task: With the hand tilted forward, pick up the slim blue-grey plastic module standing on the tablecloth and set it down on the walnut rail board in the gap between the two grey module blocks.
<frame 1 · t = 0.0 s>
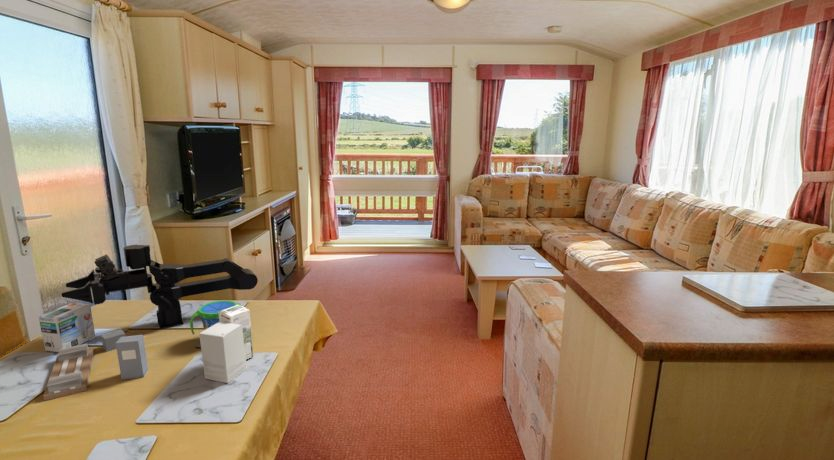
hand: (63, 290, 127), 17 cm above the table, tool horizontal, fingers open, 9 cm apart
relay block: (115, 346, 129), on the table
rail board: (71, 374, 114), on the table
module: (135, 374, 114), on the table
light bulb box: (71, 344, 131), on the table
supplement box: (226, 374, 114), on the table
syrup box: (238, 359, 121), on the table
snack cup: (221, 338, 133), on the table
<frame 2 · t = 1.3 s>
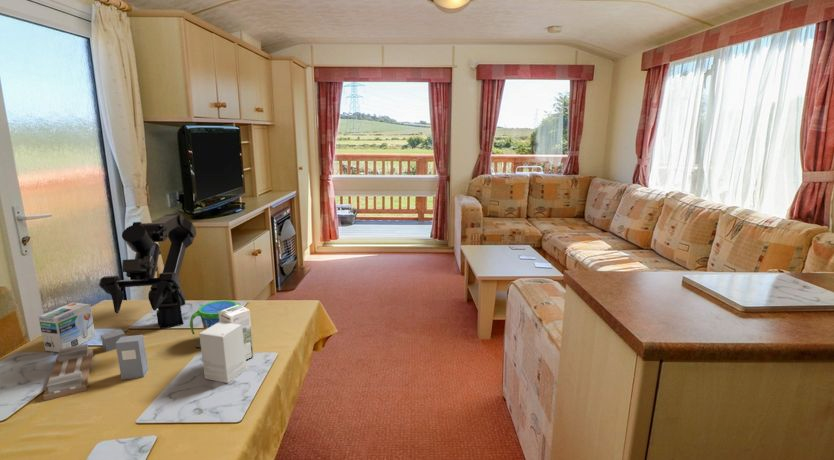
hand: (135, 311, 119), 14 cm above the table, tool tilted 45°, fingers open, 9 cm apart
nothing on the table moved.
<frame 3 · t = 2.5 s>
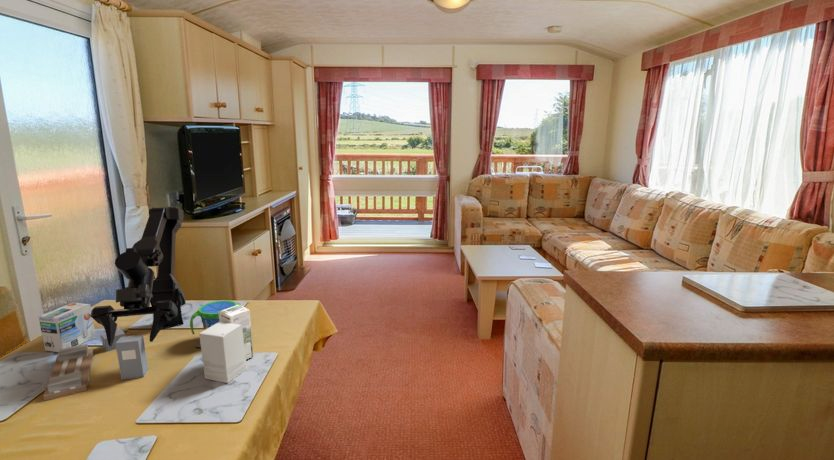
hand: (130, 343, 112), 9 cm above the table, tool tilted 45°, fingers open, 9 cm apart
nothing on the table moved.
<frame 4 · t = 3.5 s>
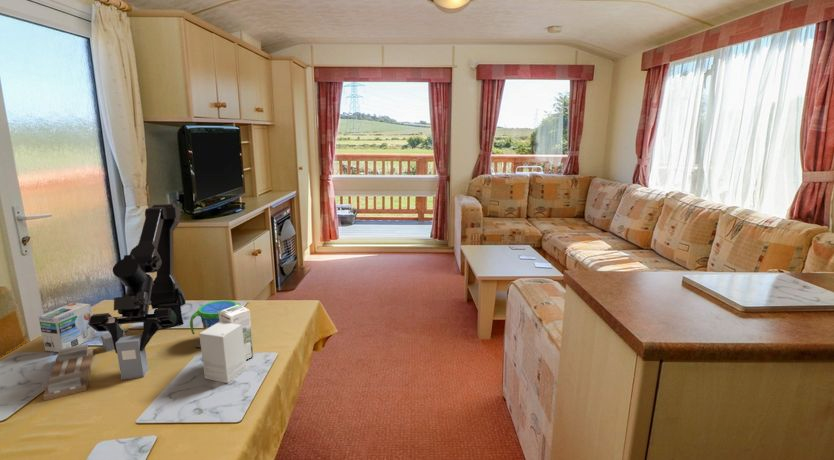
hand: (129, 351, 111), 7 cm above the table, tool tilted 45°, fingers closed on module, 5 cm apart
module: (135, 374, 114), on the table, touching gripper
everything else where it was.
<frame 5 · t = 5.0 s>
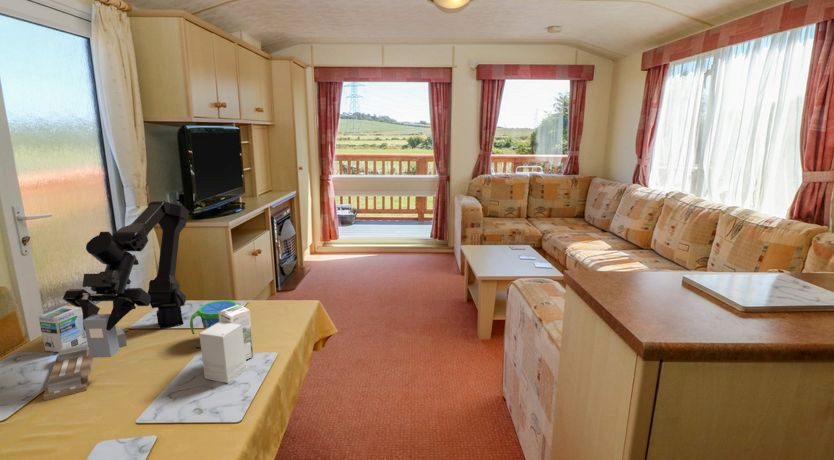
hand: (96, 330, 109), 13 cm above the table, tool tilted 45°, fingers closed on module, 5 cm apart
module: (105, 353, 112), point 6 cm above the table, touching gripper
everything else where it was.
when the fingers open (9 cm above the table, at t = 6.7 s): module stays where it is, resting on rail board.
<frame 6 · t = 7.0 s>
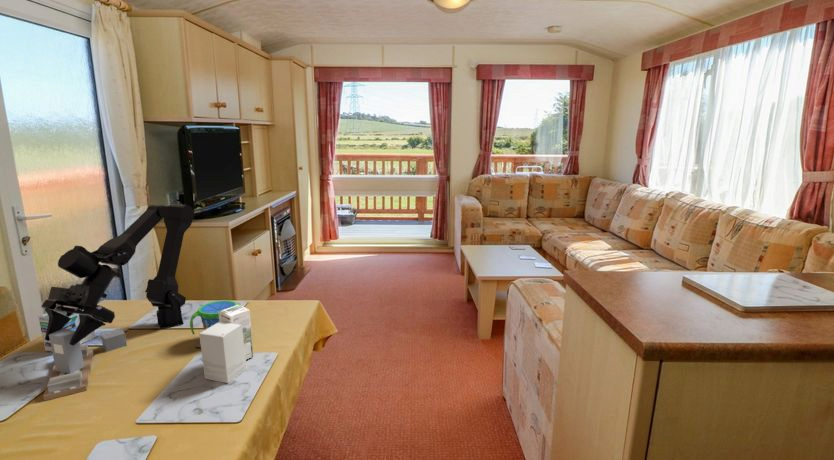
hand: (58, 342, 111), 10 cm above the table, tool tilted 45°, fingers open, 8 cm apart
module: (70, 368, 114), point 1 cm above the table, touching rail board
everything else where it was.
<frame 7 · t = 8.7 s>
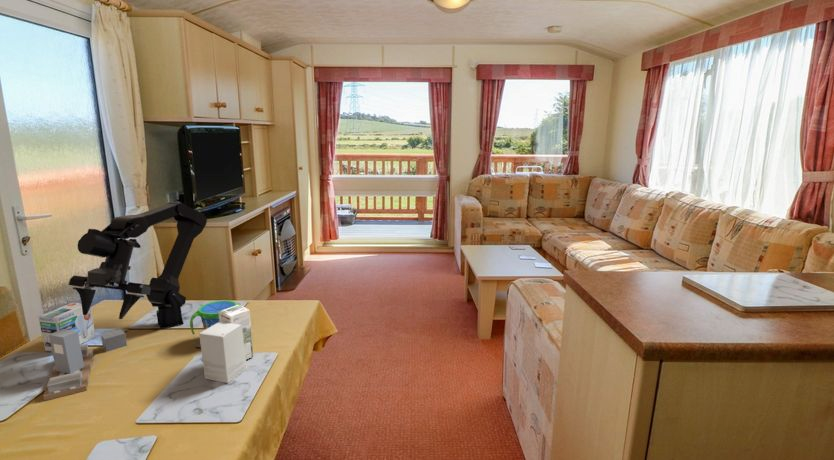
hand: (102, 317, 121), 12 cm above the table, tool tilted 25°, fingers open, 9 cm apart
nothing on the table moved.
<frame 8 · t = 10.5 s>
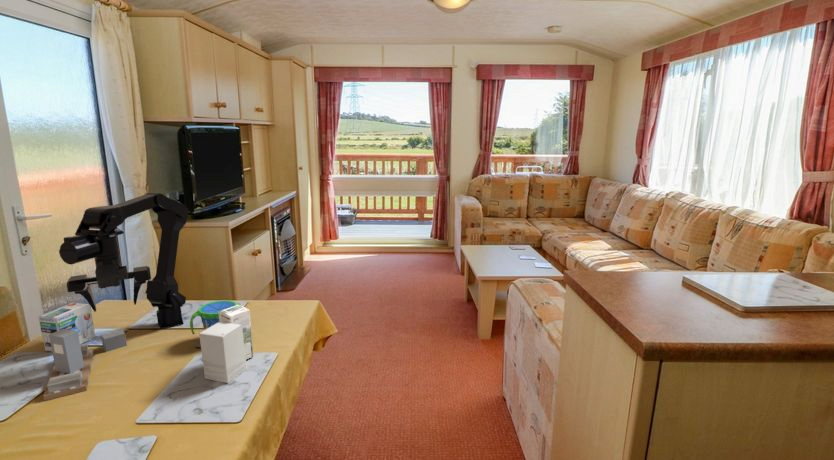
hand: (115, 307, 123), 13 cm above the table, tool pointing down, fingers open, 9 cm apart
nothing on the table moved.
at the end: module inside the target area on the rail board (0.0 cm from its centre), point 1.5 cm above the rail board's base; module tilted 0°; the gripper is holding nothing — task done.
